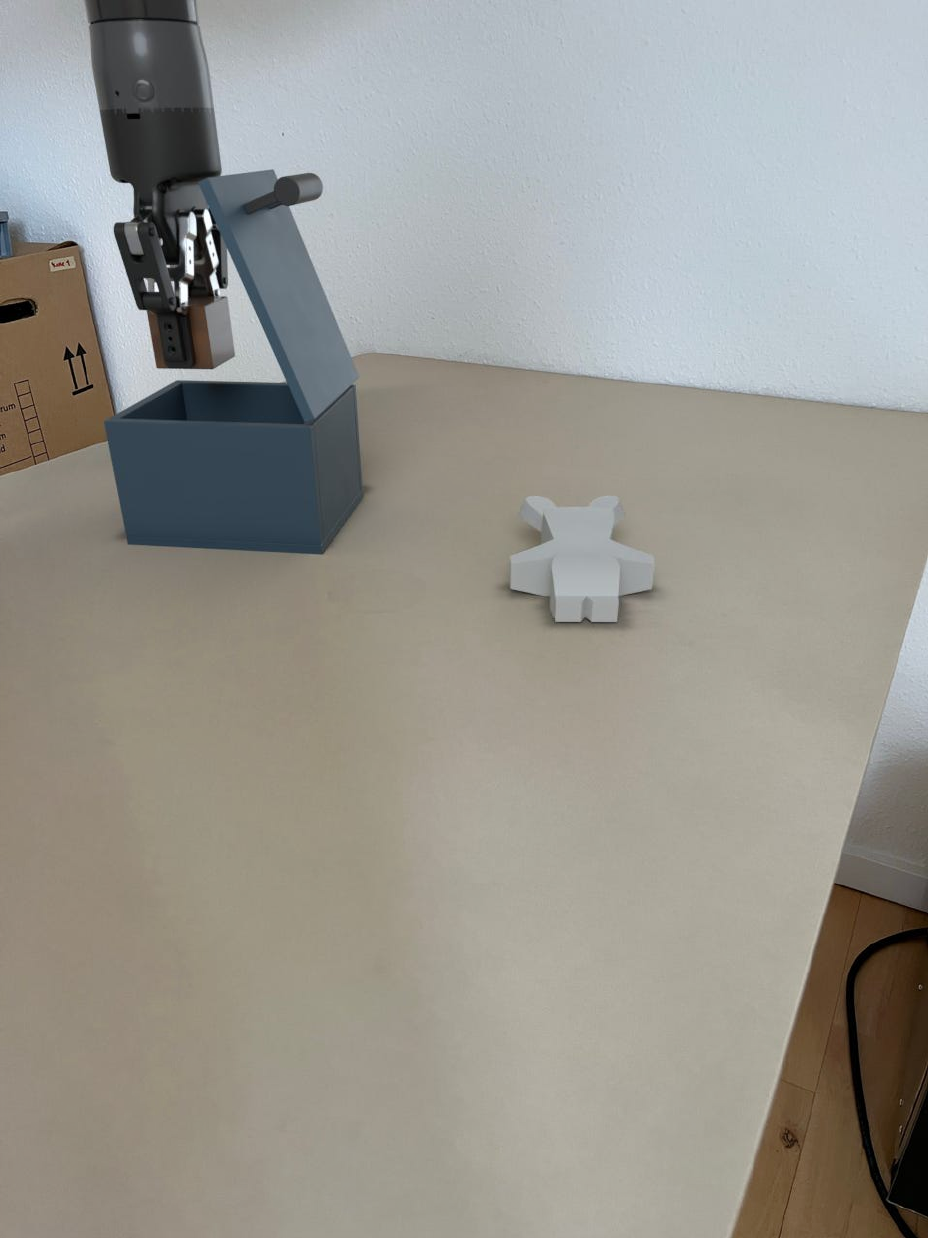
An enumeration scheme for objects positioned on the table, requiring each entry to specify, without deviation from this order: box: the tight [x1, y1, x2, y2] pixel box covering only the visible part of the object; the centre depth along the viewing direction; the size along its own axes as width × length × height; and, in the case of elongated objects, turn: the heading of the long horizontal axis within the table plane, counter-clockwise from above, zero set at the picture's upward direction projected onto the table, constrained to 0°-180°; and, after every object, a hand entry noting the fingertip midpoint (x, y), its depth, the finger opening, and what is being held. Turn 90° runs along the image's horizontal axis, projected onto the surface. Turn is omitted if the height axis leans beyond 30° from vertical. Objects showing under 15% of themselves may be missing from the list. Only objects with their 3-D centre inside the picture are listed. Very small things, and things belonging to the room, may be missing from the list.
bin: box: [103, 379, 364, 556], centre depth 75 cm, size 16×13×10 cm
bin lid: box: [198, 169, 360, 423], centre depth 68 cm, size 16×13×5 cm
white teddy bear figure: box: [508, 495, 656, 623], centre depth 64 cm, size 10×5×15 cm
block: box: [146, 295, 236, 370], centre depth 71 cm, size 4×4×4 cm
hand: (195, 358), depth 72 cm, fingers closed on block, 4 cm apart
